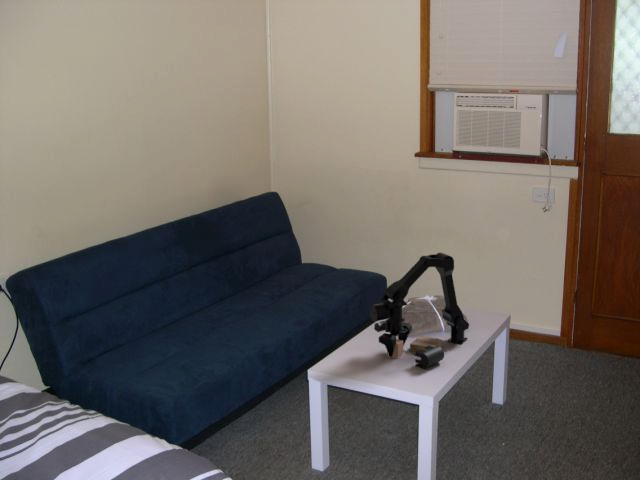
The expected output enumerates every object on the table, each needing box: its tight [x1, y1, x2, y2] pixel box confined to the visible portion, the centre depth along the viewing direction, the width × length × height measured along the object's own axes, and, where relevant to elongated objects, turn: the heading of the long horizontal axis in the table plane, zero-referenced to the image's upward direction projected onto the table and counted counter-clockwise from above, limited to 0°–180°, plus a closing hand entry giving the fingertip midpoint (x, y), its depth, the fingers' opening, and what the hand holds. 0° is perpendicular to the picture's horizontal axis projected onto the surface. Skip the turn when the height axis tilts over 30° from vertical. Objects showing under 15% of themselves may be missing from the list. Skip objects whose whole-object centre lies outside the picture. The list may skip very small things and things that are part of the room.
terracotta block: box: [387, 338, 404, 359], centre depth 310 cm, size 4×4×6 cm
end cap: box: [414, 346, 445, 370], centre depth 300 cm, size 10×7×7 cm
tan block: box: [409, 335, 443, 353], centre depth 316 cm, size 10×10×3 cm
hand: (395, 352), depth 310 cm, fingers open, 9 cm apart
